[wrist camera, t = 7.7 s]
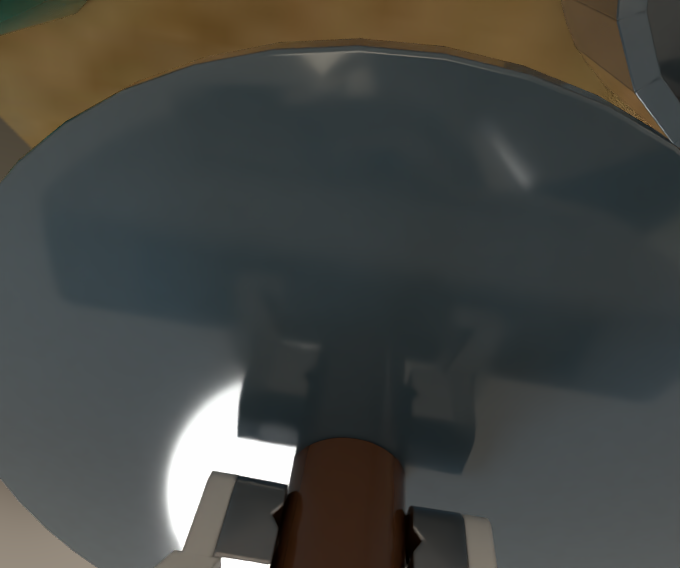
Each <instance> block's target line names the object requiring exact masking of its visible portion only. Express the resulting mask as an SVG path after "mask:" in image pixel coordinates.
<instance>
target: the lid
mask: <svg viewBox="0 0 680 568" xmlns="http://www.w3.org/2000/svg"><path fill="white" fill-rule="evenodd" d="M212 471H219V472H224V473H230V474H236V475H240V476H245V477H250V478H256V479H261V480H267V481H272V482H277V483H283V484H288V492H287V498H286V503H285V508H284V513H283V518H282V523H281V526H280V528H279V531H278V537H277V546H276V552H275V556H274V561H273V566H272V568H406V514H407V511H408V508H409V507H410V506H411V505H412V506H419V507H425V508H432V509H438V510H444V511H451V512H457V513H460V514H464V515H471V516H477V517H484V518H487V519H488V520H489V522H490V524H491V528H492V535H493V542H494V549H495V556H496V563H497V568H680V148H678V147H677V146H676V145H675V144H674V143H672V142H671V141H670V140H669V139H668V138H666V137H665V136H664V135H663V134H662V133H660V132H658V131H657V130H655V129H653V128H651V127H650V126H648V125H646V124H645V123H643V122H641V121H640V120H638V119H636V118H635V117H633V116H631V115H630V114H628V113H626V112H625V111H623V110H621V109H620V108H618V107H616V106H615V105H613V104H611V103H610V102H608V101H606V100H604V99H603V98H601V97H599V96H598V95H595V94H593V93H590V92H588V91H585V90H583V89H580V88H578V87H575V86H573V85H571V84H568V83H566V82H563V81H561V80H558V79H556V78H553V77H551V76H548V75H546V74H543V73H541V72H538V71H536V70H533V69H531V68H528V67H526V66H523V65H519V64H515V63H511V62H507V61H502V60H498V59H494V58H490V57H486V56H482V55H478V54H473V53H469V52H465V51H461V50H457V49H453V48H449V47H444V46H435V45H425V44H414V43H404V42H393V41H383V40H372V39H362V38H359V39H338V40H317V41H296V42H279V43H274V44H268V45H263V46H258V47H253V48H248V49H243V50H238V51H233V52H227V53H222V54H217V55H212V56H207V57H203V58H200V59H197V60H195V61H192V62H189V63H186V64H184V65H181V66H178V67H175V68H172V69H170V70H167V71H164V72H161V73H158V74H156V75H153V76H150V77H147V78H145V79H142V80H139V81H137V82H135V83H133V84H131V85H129V86H128V87H126V88H124V89H122V90H120V91H119V92H117V93H115V94H113V95H112V96H110V97H108V98H106V99H104V100H103V101H101V102H99V103H97V104H95V105H94V106H92V107H90V108H88V109H86V110H85V111H83V112H81V113H79V114H78V115H76V116H74V117H72V118H71V119H69V120H67V121H66V122H64V123H63V124H62V125H61V126H59V127H58V128H57V129H56V130H55V131H53V132H52V133H51V134H50V135H48V136H47V137H46V138H45V139H44V140H42V141H41V142H40V143H39V144H37V145H36V146H35V147H34V148H33V149H31V150H30V151H29V152H28V153H27V154H25V155H24V156H23V157H22V158H20V159H19V160H18V162H17V163H16V164H15V165H14V166H13V167H12V169H11V170H10V171H9V172H8V173H7V175H6V176H5V177H4V178H3V179H2V181H1V182H0V479H1V481H2V482H3V483H4V484H5V485H6V487H7V488H8V489H9V491H10V492H11V493H12V494H13V496H14V497H15V498H16V499H17V500H18V502H20V504H21V505H22V506H23V507H24V508H25V509H26V510H27V511H28V512H29V513H30V514H31V515H32V516H33V517H34V518H35V519H36V520H37V521H38V522H39V523H40V524H41V525H42V526H43V527H45V528H46V529H47V530H48V531H49V532H50V533H52V534H53V535H54V536H55V537H57V538H58V539H59V540H60V541H61V542H63V543H64V544H65V545H66V546H67V547H69V548H70V549H71V550H72V551H74V552H75V553H77V554H78V555H79V556H81V557H82V558H84V559H85V560H86V561H88V562H89V563H91V564H92V565H94V566H95V567H97V568H154V567H156V566H157V565H158V564H159V563H160V562H161V561H162V560H164V559H165V558H166V557H167V556H168V555H169V554H170V553H172V552H173V551H174V550H177V551H182V550H183V547H184V544H185V541H186V539H187V536H188V533H189V530H190V527H191V525H192V522H193V519H194V516H195V513H196V511H197V508H198V505H199V502H200V499H201V497H202V494H203V491H204V488H205V485H206V483H207V480H208V478H209V476H210V474H211V473H212Z"/></svg>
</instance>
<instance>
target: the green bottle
mask: <svg viewBox="0 0 680 568" xmlns="http://www.w3.org/2000/svg"><path fill="white" fill-rule="evenodd" d="M86 1H87V0H0V36H2V35H6V34H10V33H13V32H17V31H20V30H24V29H27V28H31V27H34V26H38V25H41V24H45V23H48V22H52V21H55V20H59V19H62V18H65V17H68V16H70V15H73V14H76V13H77V12H78V11H79V10H80V8H81V7H82V6H83V5H84V4H85V2H86Z"/></svg>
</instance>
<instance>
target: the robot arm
mask: <svg viewBox="0 0 680 568" xmlns="http://www.w3.org/2000/svg"><path fill="white" fill-rule="evenodd" d="M287 492H288V484H283V483H277V482H272V481H267V480H261V479H256V478H250V477H245V476H240V475H236V474H230V473H224V472H219V471H212V473H211V474H210V476H209V478H208V480H207V483H206V485H205V488H204V491H203V494H202V497H201V499H200V502H199V505H198V508H197V511H196V513H195V516H194V519H193V522H192V525H191V527H190V530H189V533H188V536H187V539H186V541H185V544H184V547H183V550H182V551H177V550H174V551H173V552H172V553H170V554H169V555H168V556H167V557H166V558H165V559H164V560H162V561H161V562H160V563H159V564H158V565H157V566H156V567H154V568H272V566H273V561H274V556H275V552H276V546H277V537H278V531H279V528H280V526H281V523H282V518H283V513H284V508H285V503H286V498H287ZM406 568H497V563H496V556H495V549H494V542H493V535H492V528H491V524H490V522H489V520H488V519H487V518H484V517H477V516H471V515H464V514H460V513H457V512H451V511H444V510H438V509H432V508H425V507H419V506H412V505H411V506H410V507H409V508H408V511H407V514H406Z"/></svg>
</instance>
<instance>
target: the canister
mask: <svg viewBox="0 0 680 568" xmlns="http://www.w3.org/2000/svg"><path fill="white" fill-rule="evenodd" d="M561 3H562V8H563V12H564V16H565V20H566V24H567V26H568V29H569V31H570V34H571V36H572V38H573V41H574V44H575V46H576V49H577V50H578V51H579V53H580V54H581V55H582V57H583V59H584V60H585V62H586V63H587V64H588V65H589V67H590V68H591V69H592V70H593V71H594V73H595V74H596V75H597V76H598V78H599V79H600V80H601V82H602V83H603V84H604V85H605V87H606V88H608V89H609V90H610V91H611V92H612V93H613V94H615V95H616V96H617V97H618V98H619V99H620V100H622V101H623V102H624V103H625V104H626V105H627V106H629V107H630V108H631V109H632V110H633V111H634V112H636V113H637V114H638V115H639V116H640V117H641V118H643V119H644V120H645V121H646V122H647V123H648V124H650V125H651V126H652V127H653V128H654V129H655V130H657V131H658V132H660V133H662V134H663V135H664V136H665V137H666V138H668V139H669V140H670V141H671V142H672V143H674V144H675V145H676V146H677V147H678V148H680V0H561Z"/></svg>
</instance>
